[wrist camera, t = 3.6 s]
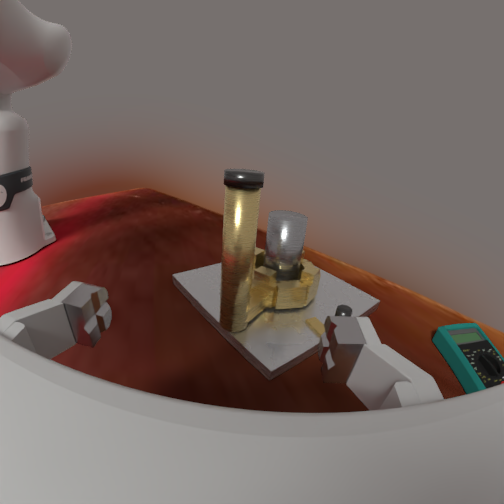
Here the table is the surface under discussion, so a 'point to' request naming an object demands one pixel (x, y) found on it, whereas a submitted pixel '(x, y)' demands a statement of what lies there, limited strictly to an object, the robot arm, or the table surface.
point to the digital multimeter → (470, 356)
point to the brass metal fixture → (253, 259)
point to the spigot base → (270, 319)
